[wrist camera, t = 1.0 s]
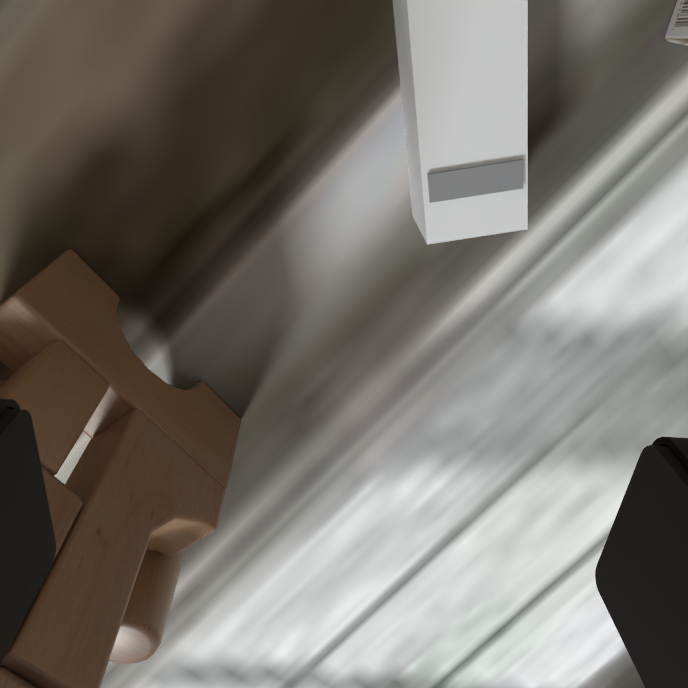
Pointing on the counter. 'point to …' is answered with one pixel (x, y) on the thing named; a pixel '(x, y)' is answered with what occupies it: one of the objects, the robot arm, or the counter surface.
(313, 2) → the counter surface
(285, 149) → the counter surface
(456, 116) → the white block
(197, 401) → the wooden toy
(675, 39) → the coffee box
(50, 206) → the counter surface
